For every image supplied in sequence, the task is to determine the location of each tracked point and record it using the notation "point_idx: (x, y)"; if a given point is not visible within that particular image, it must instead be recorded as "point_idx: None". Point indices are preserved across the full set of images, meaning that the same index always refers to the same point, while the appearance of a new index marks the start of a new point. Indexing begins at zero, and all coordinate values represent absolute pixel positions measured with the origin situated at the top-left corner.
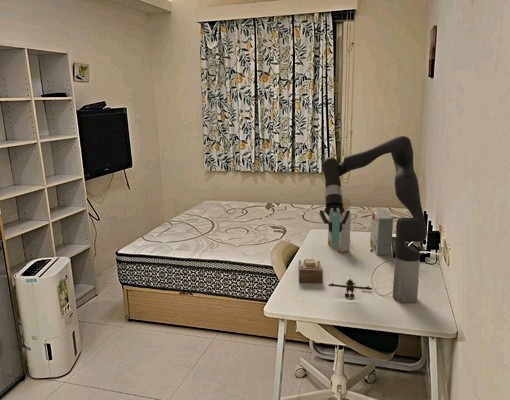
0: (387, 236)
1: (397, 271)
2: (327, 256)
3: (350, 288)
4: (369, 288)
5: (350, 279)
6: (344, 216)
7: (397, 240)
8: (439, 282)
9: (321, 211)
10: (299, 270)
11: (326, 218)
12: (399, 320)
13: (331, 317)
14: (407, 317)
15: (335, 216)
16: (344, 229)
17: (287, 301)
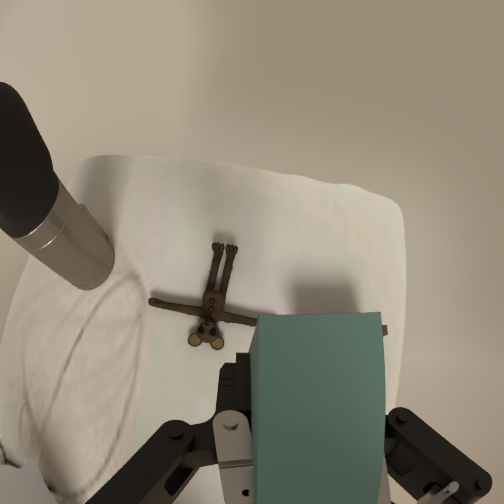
0: None
1: (78, 209)
2: None
3: (213, 290)
4: (156, 299)
5: (206, 323)
6: None
7: (28, 145)
8: (4, 340)
9: (478, 480)
10: (384, 325)
11: (402, 433)
12: (146, 173)
13: (278, 175)
14: (126, 183)
15: (330, 316)
16: None
17: (376, 237)
